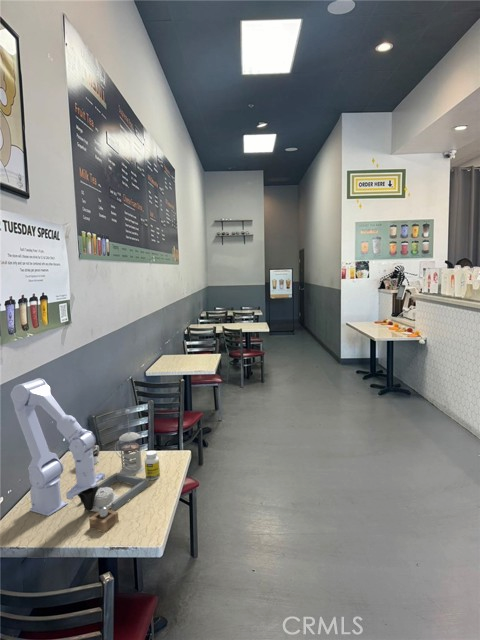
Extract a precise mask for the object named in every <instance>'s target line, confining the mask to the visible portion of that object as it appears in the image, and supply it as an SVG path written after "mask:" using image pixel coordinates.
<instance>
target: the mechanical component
mask: <svg viewBox="0 0 480 640" xmlns="http://www.w3.org/2000/svg"><path fill="white" fill-rule="evenodd" d="M114 492H115V491H114V489H113V488H112V487H110V486H108V487H105V488H100V489H98V491H97V493H96V495H95V498H94V503H93V508H92V510H90V511H89V512H94V513H98V512H99V508H100V507H101V506H107V509H108V510H111V509H112V506H111V503H112V502H114V501H115V500H116V499H118V498H119V497H118V496H119V495H118V494H116V493H114Z"/></svg>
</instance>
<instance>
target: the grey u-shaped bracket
mask: <svg viewBox="0 0 480 640" xmlns="http://www.w3.org/2000/svg"><path fill="white" fill-rule="evenodd" d="M116 482H119V483H124V484H129V485H134V486H133V487H132V488H131V489H129V490H128V491H126V492H125V493H123V494H121V496H119V497H118V499H116V500H115V501H114V502H112V503H111V506H112V508H111V510H112V511H117V510H118V509H119V508H121V507H122V506H123V505H125V504H126V503H127V502H129V501H130V500H132V499H133V498H134V497H135V496H137V495H138V494H140V493H141V492H142V491H144V490H145V489H146V488H147V487H148V486H149V480H148V479H146V478H142V477H138V476H135V475H130V476H129V475H124V474H120V472H115V473H113V474H111V475H110V476H109V477H107V478H105V479H104V480H101V482H98V483H97V486H98V489H100V488H105V487H107V488H108V487H110V486H111V485H113V484H114V483H116ZM132 497H133V498H132ZM129 499H130V500H129ZM128 500H129V501H128ZM80 503H82V501H81V500H80Z"/></svg>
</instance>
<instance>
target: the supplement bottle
mask: <svg viewBox="0 0 480 640" xmlns="http://www.w3.org/2000/svg"><path fill="white" fill-rule="evenodd" d="M157 454H158V453H157V450H148V451H146V452H145V458H144V468H145V469H144V470H145V479H148V481H149V480H150V481H153V480H156V479H159V478H160V476H161V473H160V472H161V470H160V458H159V457H158V456H157Z"/></svg>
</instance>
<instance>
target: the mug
mask: <svg viewBox="0 0 480 640" xmlns="http://www.w3.org/2000/svg"><path fill="white" fill-rule="evenodd" d="M92 448H93V458H94V466H97V465H98V464H99V455H100V447H99V445H97V444H95V445H94V446H93V447H92ZM97 463H98V464H97Z"/></svg>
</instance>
